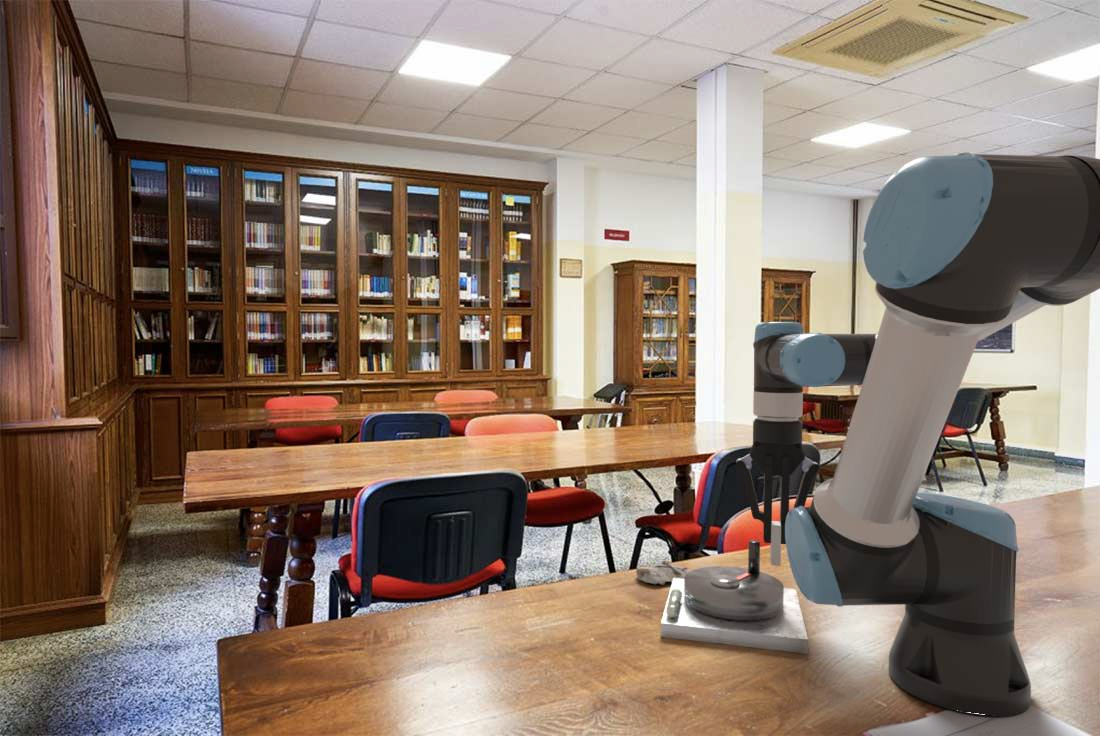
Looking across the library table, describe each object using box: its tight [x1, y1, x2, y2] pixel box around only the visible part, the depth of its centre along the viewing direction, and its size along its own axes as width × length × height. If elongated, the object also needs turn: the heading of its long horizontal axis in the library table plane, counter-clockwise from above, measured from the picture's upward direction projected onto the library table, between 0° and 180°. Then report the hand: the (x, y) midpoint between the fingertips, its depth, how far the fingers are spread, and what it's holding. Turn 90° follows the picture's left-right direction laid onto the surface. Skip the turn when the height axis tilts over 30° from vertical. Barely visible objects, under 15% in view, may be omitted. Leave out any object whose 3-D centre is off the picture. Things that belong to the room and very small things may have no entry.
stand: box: [660, 578, 809, 655], centre depth 105 cm, size 20×20×4 cm
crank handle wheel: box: [684, 539, 785, 620], centre depth 106 cm, size 15×15×8 cm
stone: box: [636, 560, 691, 586], centre depth 122 cm, size 10×7×3 cm
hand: (775, 562), depth 110 cm, fingers closed
